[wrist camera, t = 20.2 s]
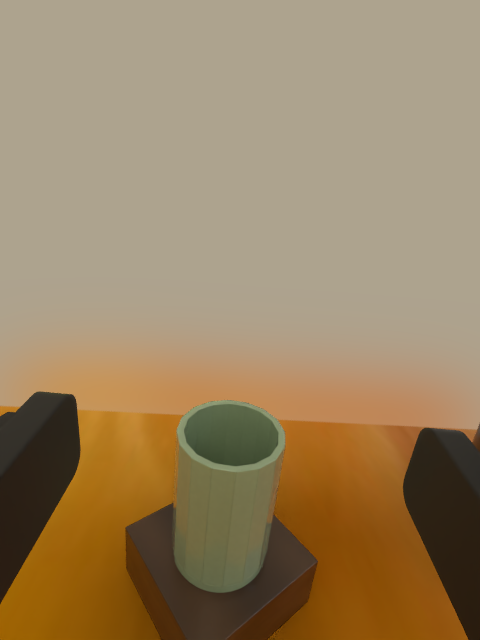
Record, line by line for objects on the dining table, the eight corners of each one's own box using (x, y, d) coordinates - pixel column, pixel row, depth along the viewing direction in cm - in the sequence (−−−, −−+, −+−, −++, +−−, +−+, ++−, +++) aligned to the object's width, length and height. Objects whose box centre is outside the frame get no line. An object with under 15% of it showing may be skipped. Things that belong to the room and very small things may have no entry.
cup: (228, 492, 28) (240, 390, 25) (284, 555, 24) (307, 442, 20) (155, 533, 24) (157, 419, 21) (207, 616, 20) (219, 490, 17)
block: (228, 508, 31) (232, 471, 30) (308, 601, 25) (318, 560, 24) (126, 568, 26) (125, 527, 25) (195, 706, 20) (199, 662, 18)
